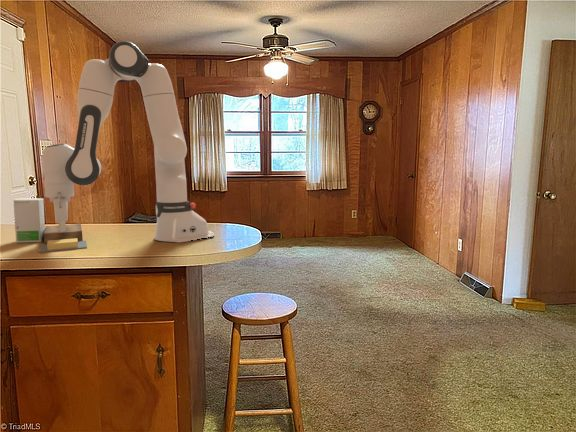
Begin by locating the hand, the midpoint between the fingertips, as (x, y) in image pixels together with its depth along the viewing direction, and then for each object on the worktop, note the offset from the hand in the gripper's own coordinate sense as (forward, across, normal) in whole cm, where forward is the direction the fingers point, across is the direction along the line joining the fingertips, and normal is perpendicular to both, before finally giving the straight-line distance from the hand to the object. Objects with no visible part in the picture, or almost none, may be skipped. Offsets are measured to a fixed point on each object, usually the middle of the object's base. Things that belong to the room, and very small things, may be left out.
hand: (62, 230), depth 144 cm
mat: (+5, -3, 0) cm, 6 cm away
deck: (+5, +11, 0) cm, 12 cm away
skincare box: (+5, +13, +10) cm, 17 cm away
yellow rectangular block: (+3, -5, 0) cm, 6 cm away
